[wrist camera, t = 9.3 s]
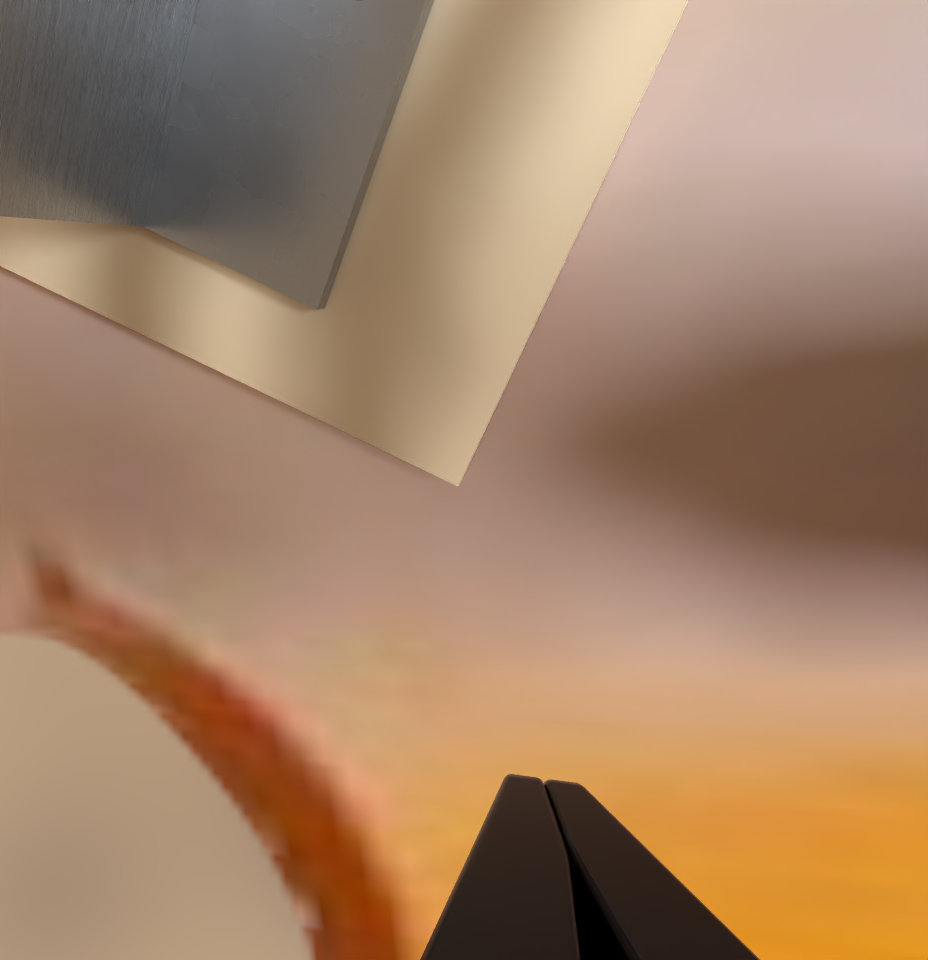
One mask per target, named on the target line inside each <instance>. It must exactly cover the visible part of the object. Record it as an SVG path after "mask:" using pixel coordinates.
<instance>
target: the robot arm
mask: <svg viewBox="0 0 928 960" xmlns="http://www.w3.org/2000/svg"><path fill="white" fill-rule="evenodd" d="M420 960H760V959H759V958H758V957H757V956H756V955H755V954H754V953H753V952H752V951H751V950H750V949H749V948H748V947H747V946H746V945H744V944H743V943H742V942H741V941H740V940H739V939H738V938H737V937H736V936H735V935H734V934H733V933H732V932H731V931H730V930H729V929H728V928H727V927H726V926H725V925H724V924H723V923H722V922H721V921H720V920H719V919H718V918H717V917H716V916H715V915H714V914H713V913H712V912H711V911H710V910H709V909H708V908H707V907H706V906H705V905H704V904H703V903H702V902H701V901H700V900H699V899H698V898H697V897H696V896H695V895H694V894H693V893H692V892H690V891H689V890H688V889H687V888H686V887H685V886H684V885H683V884H682V883H681V882H680V881H679V880H678V879H677V878H676V877H675V876H674V875H673V874H672V873H671V872H670V871H669V870H668V869H667V868H666V867H665V866H664V865H663V864H662V863H661V862H660V861H659V860H658V859H657V858H656V857H655V856H654V855H653V854H652V853H651V852H650V851H649V850H648V849H647V848H646V847H645V846H644V845H643V844H642V843H641V842H640V841H639V840H638V839H637V838H635V837H634V836H633V835H632V834H631V833H630V832H629V831H628V830H627V829H626V828H625V827H624V826H623V825H622V824H621V823H620V822H619V821H618V820H617V819H616V818H615V817H614V816H613V815H612V814H611V813H610V812H609V811H608V810H607V809H606V808H605V807H604V806H603V805H602V804H601V803H600V802H599V801H598V800H597V799H596V798H595V797H594V796H593V795H592V794H591V793H590V792H589V791H588V790H587V789H586V788H585V787H583V786H582V785H580V784H578V783H574V782H566V781H559V780H547V781H545V782H544V783H543V781H542V780H541V779H539V778H536V777H529V776H521V775H514V774H509V775H507V776H506V777H505V778H504V780H503V782H502V784H501V787H500V789H499V791H498V793H497V795H496V797H495V800H494V802H493V804H492V806H491V808H490V810H489V813H488V815H487V817H486V819H485V821H484V823H483V826H482V828H481V830H480V832H479V834H478V836H477V839H476V841H475V843H474V845H473V847H472V849H471V852H470V854H469V856H468V858H467V860H466V862H465V864H464V867H463V869H462V871H461V873H460V875H459V877H458V880H457V882H456V884H455V886H454V888H453V890H452V893H451V895H450V897H449V899H448V901H447V903H446V905H445V908H444V910H443V912H442V914H441V916H440V918H439V921H438V923H437V925H436V927H435V929H434V931H433V934H432V936H431V938H430V940H429V942H428V944H427V946H426V949H425V951H424V953H423V955H422V957H421V959H420Z"/></svg>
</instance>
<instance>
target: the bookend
mask: <svg viewBox="0 0 928 960" xmlns="http://www.w3.org/2000/svg"><path fill="white" fill-rule="evenodd" d="M433 3H434V0H0V216H3V217H16V218H30V219H43V220H57V221H70V222H84V223H98V224H111V225H125V226H138V227H145V228H147V229H149V230H151V231H153V232H155V233H157V234H159V235H161V236H163V237H165V238H167V239H170V240H172V241H174V242H176V243H178V244H180V245H182V246H184V247H186V248H188V249H190V250H193V251H195V252H197V253H199V254H201V255H203V256H205V257H207V258H209V259H211V260H213V261H216V262H218V263H220V264H222V265H224V266H226V267H228V268H230V269H232V270H234V271H236V272H239V273H241V274H243V275H245V276H247V277H249V278H251V279H253V280H255V281H257V282H259V283H261V284H264V285H266V286H268V287H270V288H272V289H274V290H276V291H278V292H280V293H282V294H284V295H287V296H289V297H291V298H293V299H295V300H297V301H299V302H301V303H303V304H305V305H307V306H310V307H312V308H314V309H316V310H319V309H325V307H326V304H327V302H328V299H329V296H330V293H331V290H332V288H333V285H334V282H335V279H336V276H337V273H338V271H339V268H340V265H341V262H342V259H343V257H344V254H345V251H346V248H347V245H348V242H349V240H350V237H351V234H352V231H353V228H354V225H355V223H356V220H357V217H358V214H359V211H360V209H361V206H362V203H363V200H364V197H365V194H366V192H367V189H368V186H369V183H370V180H371V178H372V175H373V172H374V169H375V166H376V163H377V161H378V158H379V155H380V152H381V149H382V147H383V144H384V141H385V138H386V135H387V132H388V130H389V127H390V124H391V121H392V118H393V115H394V113H395V110H396V107H397V104H398V101H399V99H400V96H401V93H402V90H403V87H404V84H405V82H406V79H407V76H408V73H409V70H410V68H411V65H412V62H413V59H414V56H415V53H416V51H417V48H418V45H419V42H420V39H421V36H422V34H423V31H424V28H425V25H426V22H427V20H428V17H429V14H430V11H431V8H432V5H433Z"/></svg>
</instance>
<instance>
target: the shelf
mask: <svg viewBox="0 0 928 960" xmlns="http://www.w3.org/2000/svg"><path fill="white" fill-rule="evenodd" d="M688 1H689V0H434V3H433V5H432V8H431V11H430V14H429V17H428V20H427V22H426V25H425V28H424V31H423V34H422V36H421V39H420V42H419V45H418V48H417V51H416V53H415V56H414V59H413V62H412V65H411V68H410V70H409V73H408V76H407V79H406V82H405V84H404V87H403V90H402V93H401V96H400V99H399V101H398V104H397V107H396V110H395V113H394V115H393V118H392V121H391V124H390V127H389V130H388V132H387V135H386V138H385V141H384V144H383V147H382V149H381V152H380V155H379V158H378V161H377V163H376V166H375V169H374V172H373V175H372V178H371V180H370V183H369V186H368V189H367V192H366V194H365V197H364V200H363V203H362V206H361V209H360V211H359V214H358V217H357V220H356V223H355V225H354V228H353V231H352V234H351V237H350V240H349V242H348V245H347V248H346V251H345V254H344V257H343V259H342V262H341V265H340V268H339V271H338V273H337V276H336V279H335V282H334V285H333V288H332V290H331V293H330V296H329V299H328V302H327V304H326V307H325V309H319V310H316V309H314V308H312V307H310V306H307V305H305V304H303V303H301V302H299V301H297V300H295V299H293V298H291V297H289V296H287V295H284V294H282V293H280V292H278V291H276V290H274V289H272V288H270V287H268V286H266V285H264V284H261V283H259V282H257V281H255V280H253V279H251V278H249V277H247V276H245V275H243V274H241V273H239V272H236V271H234V270H232V269H230V268H228V267H226V266H224V265H222V264H220V263H218V262H216V261H213V260H211V259H209V258H207V257H205V256H203V255H201V254H199V253H197V252H195V251H193V250H190V249H188V248H186V247H184V246H182V245H180V244H178V243H176V242H174V241H172V240H170V239H167V238H165V237H163V236H161V235H159V234H157V233H155V232H153V231H151V230H149V229H147V228H145V227H138V226H125V225H111V224H98V223H84V222H70V221H57V220H43V219H30V218H16V217H3V216H0V266H1V267H3V268H5V269H7V270H9V271H11V272H13V273H16V274H18V275H20V276H22V277H24V278H26V279H28V280H30V281H32V282H34V283H36V284H38V285H40V286H42V287H45V288H47V289H49V290H51V291H53V292H55V293H57V294H59V295H61V296H63V297H65V298H67V299H69V300H72V301H74V302H76V303H78V304H80V305H82V306H84V307H86V308H88V309H90V310H92V311H94V312H96V313H98V314H101V315H103V316H105V317H107V318H109V319H111V320H113V321H115V322H117V323H119V324H121V325H123V326H125V327H128V328H130V329H132V330H134V331H136V332H138V333H140V334H142V335H144V336H146V337H148V338H150V339H152V340H154V341H157V342H159V343H161V344H163V345H165V346H167V347H169V348H171V349H173V350H175V351H177V352H179V353H181V354H184V355H186V356H188V357H190V358H192V359H194V360H196V361H198V362H200V363H202V364H204V365H206V366H208V367H210V368H213V369H215V370H217V371H219V372H221V373H223V374H225V375H227V376H229V377H231V378H233V379H235V380H237V381H240V382H242V383H244V384H246V385H248V386H250V387H252V388H254V389H256V390H258V391H260V392H262V393H264V394H266V395H269V396H271V397H273V398H275V399H277V400H279V401H281V402H283V403H285V404H287V405H289V406H291V407H293V408H296V409H298V410H300V411H302V412H304V413H306V414H308V415H310V416H312V417H314V418H316V419H318V420H320V421H322V422H325V423H327V424H329V425H331V426H333V427H335V428H337V429H339V430H341V431H343V432H345V433H347V434H349V435H352V436H354V437H356V438H358V439H360V440H362V441H364V442H366V443H368V444H370V445H372V446H374V447H376V448H378V449H381V450H383V451H385V452H387V453H389V454H391V455H393V456H395V457H397V458H399V459H401V460H403V461H405V462H408V463H410V464H412V465H414V466H416V467H418V468H420V469H422V470H424V471H426V472H428V473H430V474H432V475H434V476H437V477H439V478H441V479H443V480H445V481H447V482H449V483H451V484H453V485H455V486H457V487H458V486H459V484H460V482H461V481H462V479H463V477H464V475H465V473H466V471H467V469H468V466H469V464H470V462H471V460H472V458H473V456H474V454H475V452H476V450H477V447H478V445H479V443H480V441H481V439H482V437H483V435H484V433H485V430H486V428H487V426H488V424H489V422H490V420H491V418H492V416H493V414H494V411H495V409H496V407H497V405H498V403H499V401H500V399H501V397H502V394H503V392H504V390H505V388H506V386H507V384H508V382H509V380H510V378H511V375H512V373H513V371H514V369H515V367H516V365H517V363H518V361H519V358H520V356H521V354H522V352H523V350H524V348H525V346H526V344H527V342H528V339H529V337H530V335H531V333H532V331H533V329H534V327H535V325H536V322H537V320H538V318H539V316H540V314H541V312H542V310H543V308H544V306H545V303H546V301H547V299H548V297H549V295H550V293H551V291H552V289H553V286H554V284H555V282H556V280H557V278H558V276H559V274H560V272H561V270H562V267H563V265H564V263H565V261H566V259H567V257H568V255H569V253H570V250H571V248H572V246H573V244H574V242H575V240H576V238H577V236H578V234H579V231H580V229H581V227H582V225H583V223H584V221H585V219H586V217H587V214H588V212H589V210H590V208H591V206H592V204H593V202H594V200H595V198H596V195H597V193H598V191H599V189H600V187H601V185H602V183H603V181H604V178H605V176H606V174H607V172H608V170H609V168H610V166H611V164H612V161H613V159H614V157H615V155H616V153H617V151H618V149H619V147H620V145H621V142H622V140H623V138H624V136H625V134H626V132H627V130H628V128H629V125H630V123H631V121H632V119H633V117H634V115H635V113H636V111H637V109H638V106H639V104H640V102H641V100H642V98H643V96H644V94H645V92H646V89H647V87H648V85H649V83H650V81H651V79H652V77H653V75H654V73H655V70H656V68H657V66H658V64H659V62H660V60H661V58H662V56H663V53H664V51H665V49H666V47H667V45H668V43H669V41H670V39H671V37H672V34H673V32H674V30H675V28H676V26H677V24H678V22H679V20H680V17H681V15H682V13H683V11H684V9H685V7H686V5H687V3H688Z"/></svg>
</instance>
